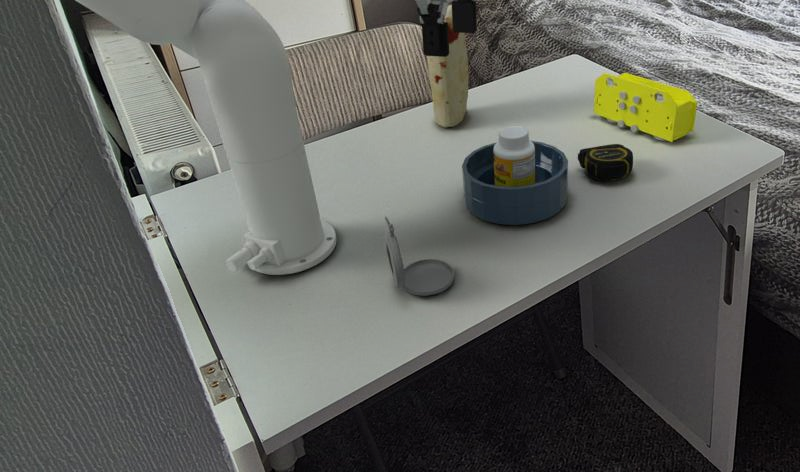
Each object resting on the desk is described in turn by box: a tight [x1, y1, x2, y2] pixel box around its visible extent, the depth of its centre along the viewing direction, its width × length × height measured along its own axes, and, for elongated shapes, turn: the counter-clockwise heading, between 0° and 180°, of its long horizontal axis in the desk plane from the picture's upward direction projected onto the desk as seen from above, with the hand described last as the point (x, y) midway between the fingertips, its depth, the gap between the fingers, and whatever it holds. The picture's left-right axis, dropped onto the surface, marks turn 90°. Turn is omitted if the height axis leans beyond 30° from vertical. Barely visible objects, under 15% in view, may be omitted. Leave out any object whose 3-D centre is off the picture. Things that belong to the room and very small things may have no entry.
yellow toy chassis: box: [593, 72, 698, 143], centre depth 105 cm, size 16×6×8 cm, turn 32°
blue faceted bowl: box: [461, 140, 569, 226], centre depth 91 cm, size 14×14×6 cm
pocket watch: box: [384, 216, 455, 296], centre depth 77 cm, size 8×8×10 cm
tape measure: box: [577, 143, 634, 181], centre depth 95 cm, size 7×7×4 cm
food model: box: [427, 4, 469, 129], centre depth 113 cm, size 10×7×20 cm
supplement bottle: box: [493, 125, 535, 187], centre depth 90 cm, size 6×6×10 cm
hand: (451, 43), depth 83 cm, fingers open, 9 cm apart
